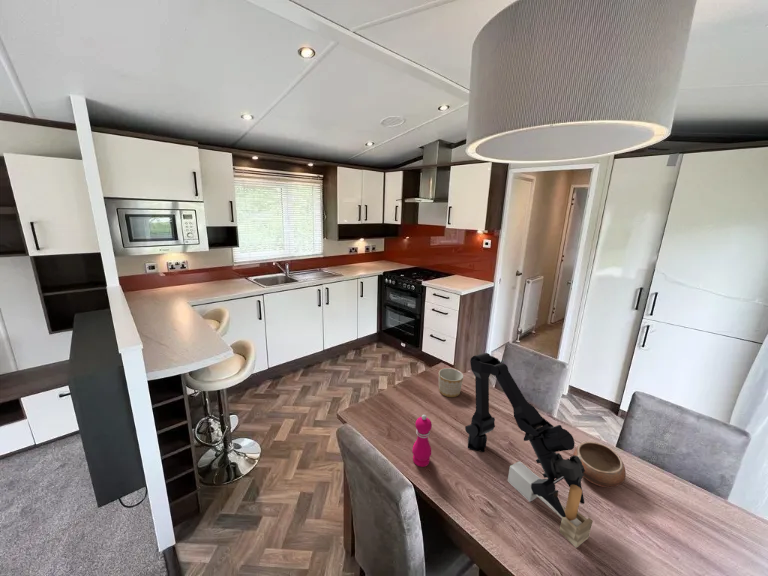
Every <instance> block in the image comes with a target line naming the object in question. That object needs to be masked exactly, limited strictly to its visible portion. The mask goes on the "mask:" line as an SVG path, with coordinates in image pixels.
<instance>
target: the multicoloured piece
mask: <svg viewBox="0 0 768 576" xmlns="http://www.w3.org/2000/svg"><path fill="white" fill-rule="evenodd" d="M582 492H583V489H582V490H581V488H580V487H578V486H577V485H571V486H570V487H569V490H568V495H567V498H566V499H567V500H566V504H565V506H563V505H562V507H563V509H564V512H565V515H566V518H567V519H568V520H569V521H570V522H571V523H573V524H574V525H575V526H576V527H578V526H579V525H580V524H582V522H581V521H579V520H578V519H577V518H576V516H577V512H579V509H580V508H579V507H580V504H581V503H580V499H581V495H582ZM536 496H538V495H536ZM537 498H538V499H540V501H542V502H543V503H544V504H545V505H546V506H547V507H548V508H550V509H551V511H552V512H554V513H555V514H556V515H557V516H558V517H560V518H561V519H562V516H561V515H560V514H559V513H558V512H557V511H556V510H555V509H554V508H553V507H552V506H551V505H550V504H549V503H548V502H547V501H546V500H545V499H544V498H543V497H542V496H538V497H537Z"/></svg>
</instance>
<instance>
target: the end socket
mask: <svg viewBox="0 0 768 576" xmlns="http://www.w3.org/2000/svg"><path fill="white" fill-rule="evenodd" d="M576 518H577V519H578V520H579V521H581V522H582V524H580V525H579V526H578V527H576V526H575V525H574V524H573V523H571V522H570V521H569V520H568V519H567V518H566V517H562V518H561V522H560V527H559V533H560V534H561V535H562V537H564V539H566V540H567V541H568V542H569V543H570V544H571V545H573V547H575V548H576V549H577V548H578V547H579V546H581V545H582V544H583V543H584V542H585V541H586V540H588V539H589V538H590V535H591V529H592V525H593V521H594V520H592V518H591V517H588V518H586V516H584V514H582V513H580V511H578V512H577V516H576Z"/></svg>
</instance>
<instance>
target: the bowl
mask: <svg viewBox="0 0 768 576" xmlns="http://www.w3.org/2000/svg"><path fill="white" fill-rule="evenodd" d="M573 455H575V456H578V457H579V459H580V460H581V462H582V465H583V466H584V469H585V472H583V474H584V476H583V477H582V478H584V479H586V480H587V481H589V482H590V483H592V484H594V485H596V486H599V487H603V488H615V487H618V486H620V485H621V484H623V483H624V481H625V479H626V474H627V473H626V472H627V471H626V467H625V464H624V462H623V460H622V458H621V457H620V456H619V454H618V453H617V452H616V451H615V450H613V448H611V447H609V446H607V445H605V444H603V443H599V442H594V441H584V442H582V443H580V444H579V445H577V446H576V447H575V449H574V451H573V454H572V456H573Z"/></svg>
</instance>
